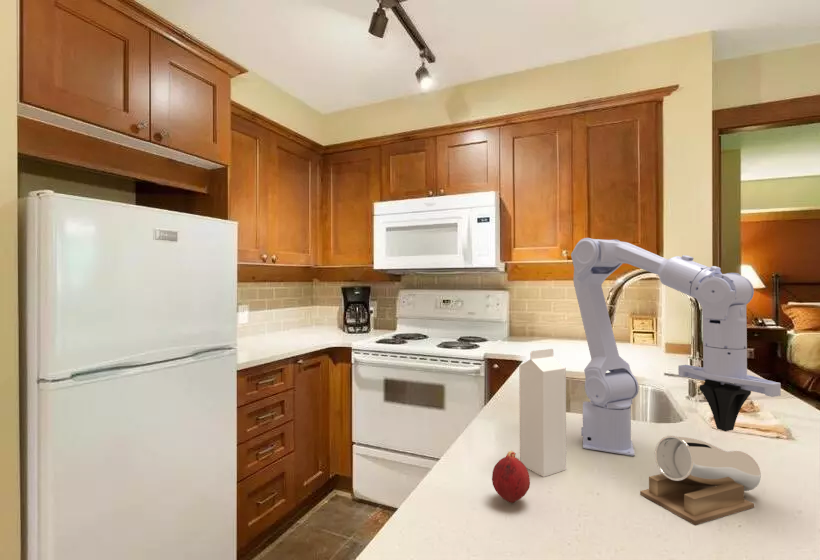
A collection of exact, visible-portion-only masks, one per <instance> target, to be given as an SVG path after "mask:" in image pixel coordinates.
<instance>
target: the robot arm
mask: <svg viewBox="0 0 820 560" xmlns="http://www.w3.org/2000/svg"><path fill="white" fill-rule="evenodd" d="M570 256H571V260H572V264H573V278H572V281H573V285H574V286H573V287H574V290H575V294H576V299H577V303H578V307H579V311H580V316H581V320H582V325H583V329H584V333H585V337H586V338H585V339H586V342H587V346H588V350H589V355H590V361H589V363H587V365H586V367H585V368H584V376H585V378H584V379H585V381H584V391H585V394H586V397H587V398H588V399H589V401H583V402H582V427H581V432H580V433H581V437H582V448H583V449H585V450H592V451H599V452H600V451H601V452H604V453H605V452H606V453H613V454H619V455H624V456H625V455H626V456H632V457H633V456H635V450H634V449H635V448H634V446H633V444H634V443H633V441H632V421H631V420H632V416H631V414H632V410H631V409H632V408H631V405H633V399H635V398H636V397H637V395H638V394H639V389H640V387H639V382H638V380H637V377H636V376H635V375H634V373H633V372H632V370H631V367H630V363H628V362H627V360H624V358H623V357H621V356H620V354H619V351H618V346H617V342H616V339H615V334H614V330H613V326H612V323H611V319H610V314H609V311H608V305H607V303H606V299H605V294H604V291H603V287H602V286H603V283H604V282H605V280H606V279H607V278H609V276H611V274H613V273H614V272H615V271H617V270H618V269H619V268H620V267H621V266H622V265H623V264H628V265H631V266H633V267H635V268H639V269H641V270H644V271H645V272H650V273H652V274H655V275H658V278H659V281H660V283H661V284H662V285H664V286H665V287H669V288H671V289H673V290H675V291H677V292H680V293H682V294H684V295H687V296H689V297H692V298H694V299H696V301H697V302H698V304H699V305H700V306H701V308H702V309H701V311H702V335H703V338H702V347H703V348H702V349H703V351H702V357H703V358H702V361H703V362H702V365H703V366H696V365H689V364H683V365H682V364H681V365H678V367H677V368H678V369H677V370H678V377H681V378H690V379H694V380H699V381H704V383H703V384H700V385H699V390H700V392H701V393H702V394H703V396H704V398H705V400H706V401H707V404H708V405H709V408H710V410H711V413H712V416H713V419H714V422H715V427H716V429H717V430H721V431H723V432H730V431H734V428H735V424H736V421H737V418H738V416H739V413H740V411H741V409H742V406H743V405H744V403H745V402H746V401H747V400H748V398H749V397H750V396H751V393H752V392H753V393H759V394H762V395H764V396H766V397H771V398H774V397H780V396H781V395H782V394H781V390H782V389H781V385H782V384H781V382H776V381H773V380H768V379H764V378H760V377H758V376H755V375H751V374H748V351H747V350H748V349H747V348H748V342H747V341H748V339H747V338H748V337H747V336H748V334H747V333H748V331H747V330H748V328H747V327H748V325H747V324H748V322H747V321H748V320H747V305H748V304H750V302H751V301H752V300H753V297H754V294H755V293H754V292H755V290H754V285H753V284H752V282H751V281H750V280H749V279H748V278H747V277H745V276H743V275H741V274H740V273H738V272H727V273H722V271H721V270H722V269H721V267H719V266H716V265H711V266H707V265H705V264H702V263H699V262H696V261H694V256H690V255H688V254H685V255H683V254H682V256H679V255H675V256H672V257H670V258H666V257H663V256H660V255H658V254H656V253H653V252H651V251H648V250H646V249H644V248H642V247H640V246H637V245H634V244H632V243H630V242H627V241H620V240H619V239H601V238H600V239H599V238H597V239H596V238H590V237H583V238H581V239H580V240H579V241H578V242H577V243H576V244H575V247H574V248H573V250H572V252H571V253H570Z"/></svg>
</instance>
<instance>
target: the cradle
mask: <svg viewBox="0 0 820 560" xmlns="http://www.w3.org/2000/svg"><path fill="white" fill-rule="evenodd" d="M639 495H640V496H642V497H644V498H646V499H647V500H649V501H651V502H652V503H654V504H656V505H658V506H659V507H662V508H663V509H665V510H667V511H669V512H671V513H672V514H674V515H676V516H678V517H680V518H681V519H683V520H685V521H687V522H689V523H690V524H692V525H693V526H697V525H700V524H703V523H707V522H711V521H713V520H717V519H719V518H723V517H727V516H729V515H734V514H737V513H740V512H745V511H747V510H750V509H753V508H755V503H754V502H751V501H750V500H748V499H745V491H744V486H743V485H740V484H738V483H736V482H732V483H727V484H722V485H718V486H708V487H703V486H694V485H690V484H685V483H682V482H679V481H674V480H671V479H669V478H667V477H666V476H664V475H663V474H662V473H660V474H655V475H652V476H651V475H650V476H649V477H648V488H647V489H642V490H640V491H639Z"/></svg>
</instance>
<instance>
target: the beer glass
mask: <svg viewBox="0 0 820 560" xmlns="http://www.w3.org/2000/svg"><path fill="white" fill-rule="evenodd" d="M654 459H655V463H656V466H657V468H658V470H659V472H660V473H661V474H663V475H664V476H666V477H667V478H669V479H671V480H674V481H679V482H682V483H685V484H690V485H694V486H703V487H708V486H718V485H722V484H727V483H732V482H736V483H738V484H740V485H743V486H744V492H748V491H752V490H754V489H756V488H757V487H758V486H759V484H760V483H761V478H762V473H761V472H762V471H761V468H760V467H759V464H758V463H757V461H756V460H755V459H754V458H753V457H752V456H751V455H750V454H748V453H747V452H744V451H740V450H725V449H722V448H719V447H717V446H715V445H713V444H711V443H708V442H706V441H703V440H700V439H696V438H691V437H686V436H677V435H676V436H675V435H667V436H664V437H662V438H661V439H659V441H658V442H657V444H656V446H655V451H654Z"/></svg>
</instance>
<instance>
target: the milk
mask: <svg viewBox="0 0 820 560" xmlns="http://www.w3.org/2000/svg"><path fill="white" fill-rule="evenodd" d="M518 367H519V375H518V379H519V380H518V381H519V382H518V383H519V386H518V387H519V388H518V389H519V391H518V392H519V460H520V461H521V462H522V463H523V464H524V465H525V467H526V468H527V470H529V469H530V471H531V470H532V472H533V473H535V474H537V475H539V476H540V477H542V478H545V477H548V476H551V475H554V474H557V473H560V472H563V471H566V470H567V392H566V391H567V378H566V377H567V375H566V374H567V370H566V367H565V366H564V364H563V363H561V362H560V361H559V360H558V359H557V358H556V357H555V356H554V348H547V349H545V348H544V349H538V350H531V351H530V359H529V360H527V361H525V362H524V363H521V364H519V366H518Z"/></svg>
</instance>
